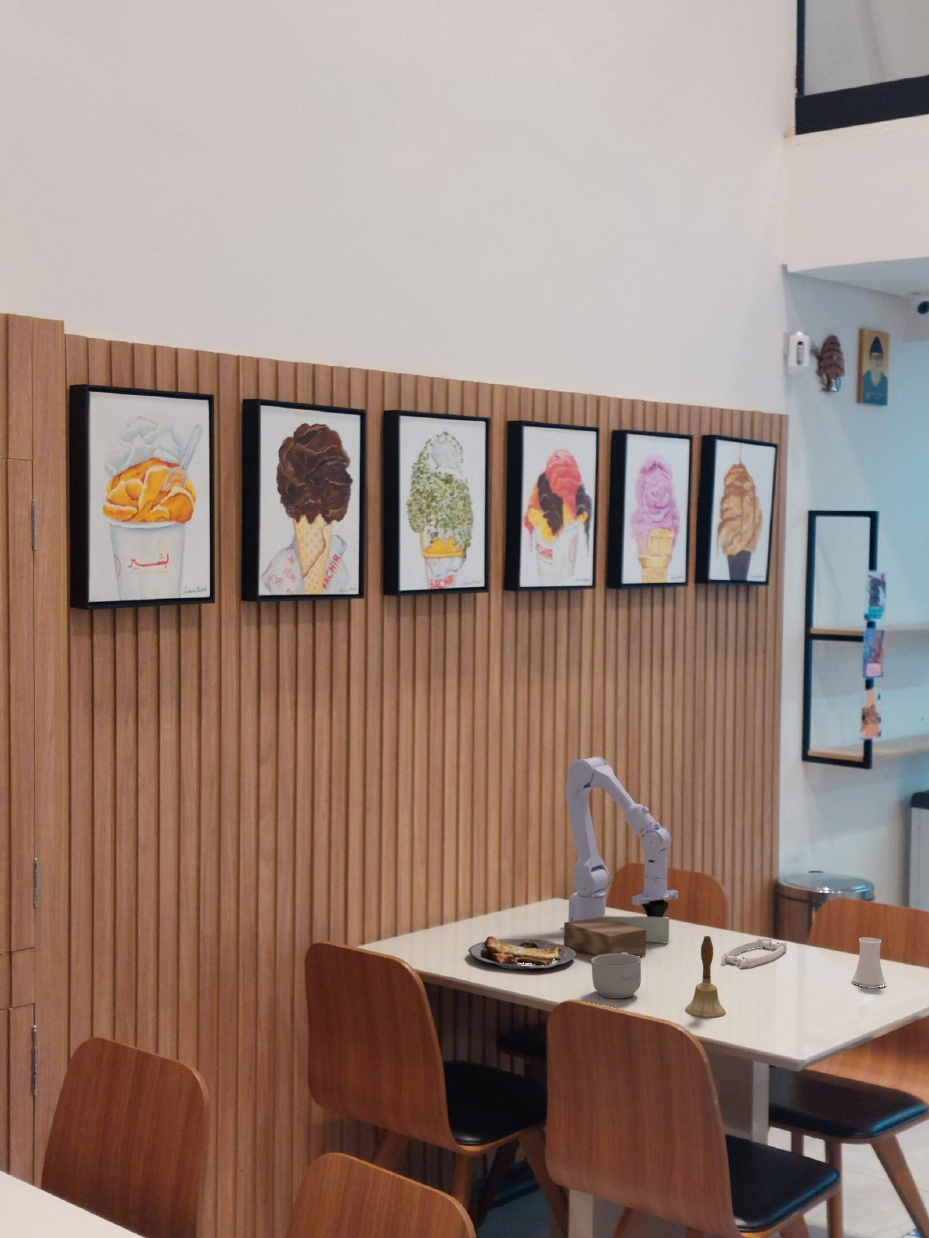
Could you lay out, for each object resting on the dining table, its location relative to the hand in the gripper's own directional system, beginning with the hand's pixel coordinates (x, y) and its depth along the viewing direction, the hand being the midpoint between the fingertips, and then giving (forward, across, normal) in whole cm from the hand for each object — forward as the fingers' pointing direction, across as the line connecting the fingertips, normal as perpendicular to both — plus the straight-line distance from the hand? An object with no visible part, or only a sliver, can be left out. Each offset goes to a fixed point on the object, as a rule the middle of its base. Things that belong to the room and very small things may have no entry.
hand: (654, 930), depth 359 cm
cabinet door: (+2, -6, +1) cm, 6 cm away
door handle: (+3, +9, -25) cm, 27 cm away
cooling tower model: (+3, +13, -55) cm, 57 cm away
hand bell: (+3, -34, -49) cm, 60 cm away
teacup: (+3, -40, -29) cm, 49 cm away
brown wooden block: (+2, -19, -2) cm, 19 cm away
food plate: (+3, -40, +4) cm, 40 cm away
